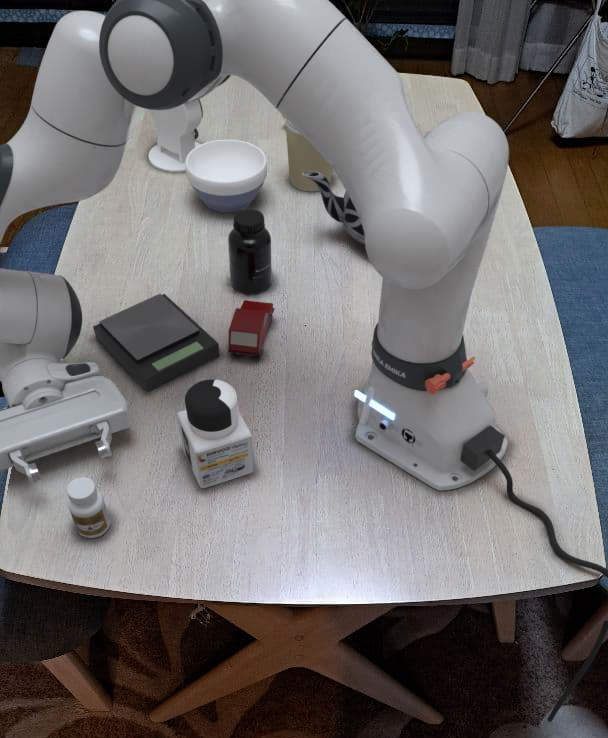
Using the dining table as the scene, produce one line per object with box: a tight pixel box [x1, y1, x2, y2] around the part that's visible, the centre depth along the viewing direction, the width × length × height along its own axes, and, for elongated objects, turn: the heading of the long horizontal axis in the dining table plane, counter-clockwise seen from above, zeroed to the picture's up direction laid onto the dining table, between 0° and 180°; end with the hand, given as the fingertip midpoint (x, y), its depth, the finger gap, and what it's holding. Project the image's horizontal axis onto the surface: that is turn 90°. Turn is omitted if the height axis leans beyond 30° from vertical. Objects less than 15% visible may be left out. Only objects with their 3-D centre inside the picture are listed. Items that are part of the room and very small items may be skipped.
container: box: [176, 378, 255, 489], centre depth 106 cm, size 8×8×13 cm
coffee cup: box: [284, 118, 333, 193], centre depth 147 cm, size 9×9×12 cm
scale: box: [92, 293, 221, 393], centre depth 123 cm, size 15×13×3 cm
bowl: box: [185, 138, 268, 213], centre depth 145 cm, size 14×14×8 cm
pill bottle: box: [66, 477, 111, 539], centre depth 101 cm, size 4×4×8 cm
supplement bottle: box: [227, 208, 272, 295], centre depth 129 cm, size 7×7×12 cm
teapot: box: [302, 172, 366, 249], centre depth 136 cm, size 19×31×15 cm, turn 94°
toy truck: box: [227, 299, 275, 359], centre depth 124 cm, size 6×12×5 cm, turn 170°
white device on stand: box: [148, 98, 204, 173], centre depth 150 cm, size 12×11×15 cm
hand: (70, 466), depth 104 cm, fingers open, 8 cm apart
